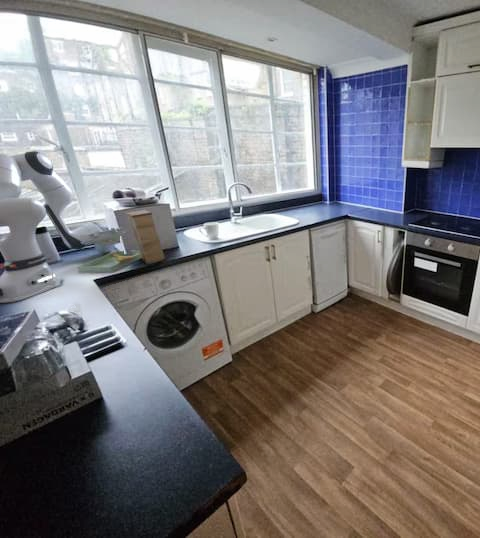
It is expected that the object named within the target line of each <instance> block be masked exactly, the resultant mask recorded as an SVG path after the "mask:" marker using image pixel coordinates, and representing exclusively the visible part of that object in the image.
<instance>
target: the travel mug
mask: <svg viewBox="0 0 480 538" xmlns="http://www.w3.org/2000/svg"><path fill="white" fill-rule="evenodd" d="M35 237H36V240H37V243H38V246H39V248H40V250H41V252H42V253H43V254H44V255H45V257H46V259H47V264H48V265H53V264H57V263H60V262H62V258H61V257H60V254H59V252H58V250H57V247H56V246H55V243H54V241H53V239H52V237H51V235H50V232H49V230H48V229H47V226H46V225H45V226H43V225H42V226H37V228H36V231H35Z"/></svg>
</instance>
